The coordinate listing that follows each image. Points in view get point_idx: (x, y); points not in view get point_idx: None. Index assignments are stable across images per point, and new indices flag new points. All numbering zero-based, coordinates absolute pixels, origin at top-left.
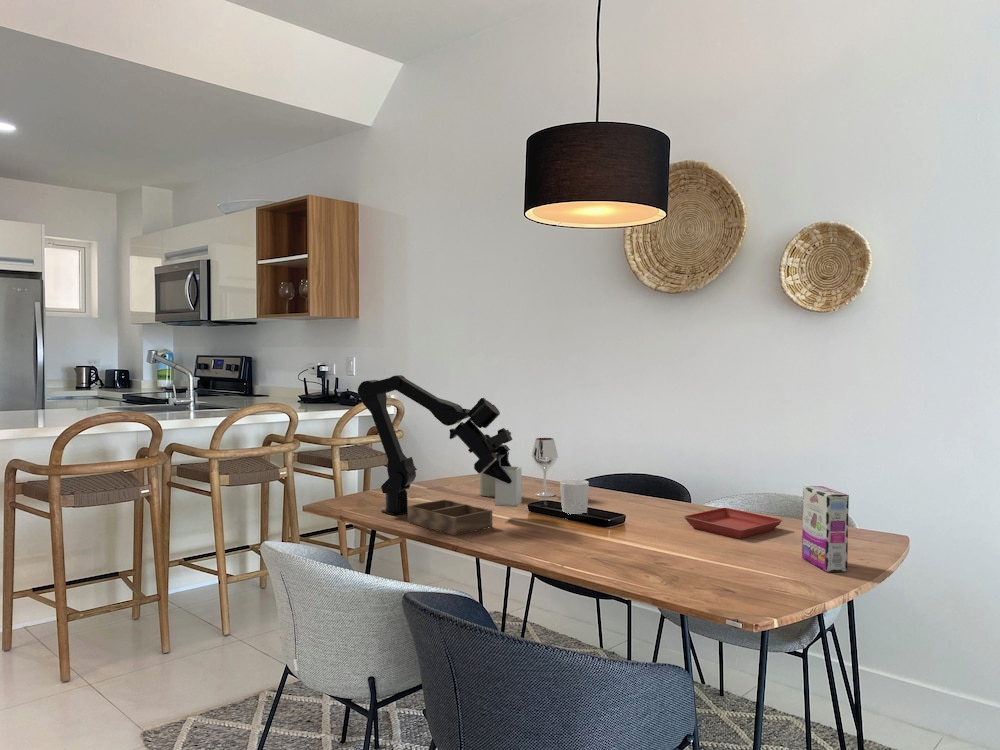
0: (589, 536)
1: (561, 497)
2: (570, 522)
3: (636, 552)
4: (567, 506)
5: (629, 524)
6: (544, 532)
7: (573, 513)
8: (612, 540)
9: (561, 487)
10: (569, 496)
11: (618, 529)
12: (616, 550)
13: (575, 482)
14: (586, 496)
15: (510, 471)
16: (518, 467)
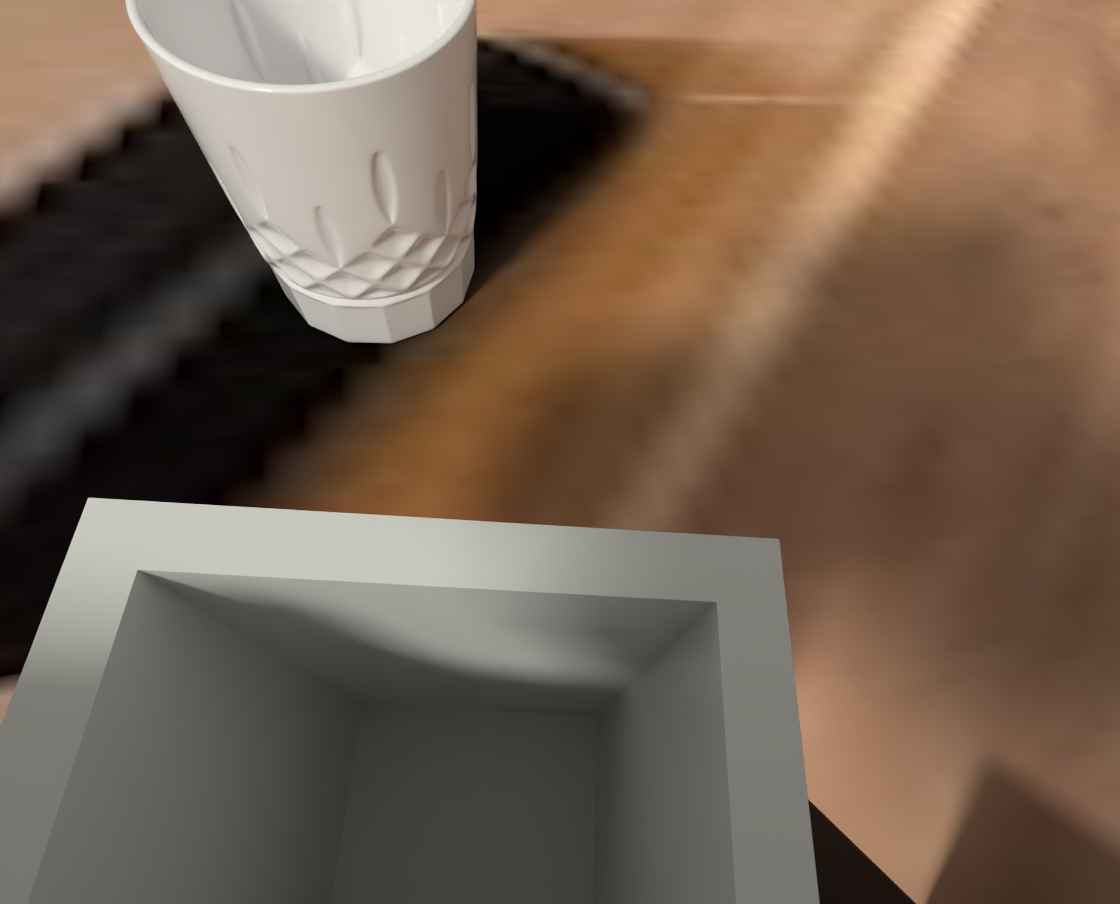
0: (881, 177)
1: (388, 224)
2: (544, 286)
3: (1074, 19)
4: (462, 231)
5: (534, 20)
6: (898, 420)
7: (473, 234)
8: (915, 88)
9: (380, 131)
10: (470, 138)
11: (666, 63)
12: (1089, 77)
13: (157, 7)
14: (404, 42)
15: (780, 750)
16: (139, 585)
